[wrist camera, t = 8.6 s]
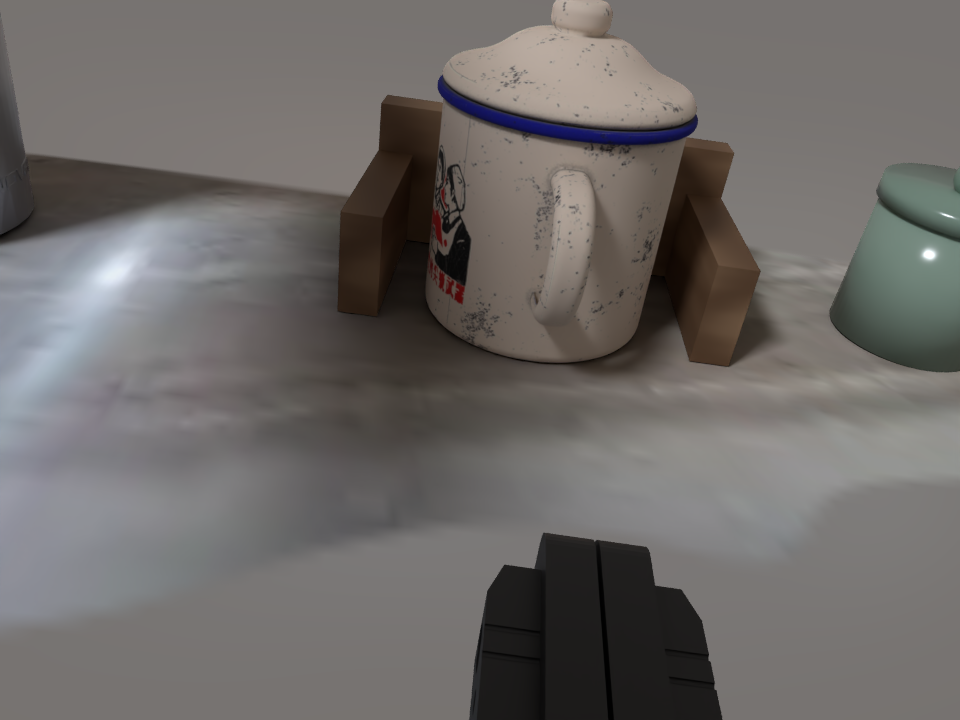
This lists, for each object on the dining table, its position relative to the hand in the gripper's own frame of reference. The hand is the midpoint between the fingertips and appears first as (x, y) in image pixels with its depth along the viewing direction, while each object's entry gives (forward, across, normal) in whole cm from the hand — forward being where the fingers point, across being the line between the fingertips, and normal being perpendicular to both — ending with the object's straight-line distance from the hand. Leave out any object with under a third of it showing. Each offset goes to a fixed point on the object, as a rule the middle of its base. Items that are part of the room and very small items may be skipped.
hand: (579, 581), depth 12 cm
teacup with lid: (+19, 0, +6) cm, 20 cm away
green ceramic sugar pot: (+23, -16, +6) cm, 29 cm away
